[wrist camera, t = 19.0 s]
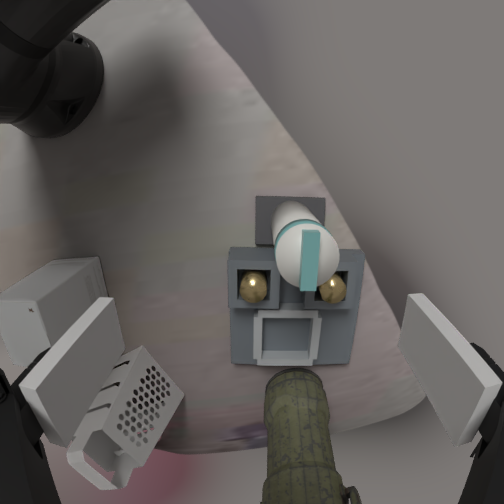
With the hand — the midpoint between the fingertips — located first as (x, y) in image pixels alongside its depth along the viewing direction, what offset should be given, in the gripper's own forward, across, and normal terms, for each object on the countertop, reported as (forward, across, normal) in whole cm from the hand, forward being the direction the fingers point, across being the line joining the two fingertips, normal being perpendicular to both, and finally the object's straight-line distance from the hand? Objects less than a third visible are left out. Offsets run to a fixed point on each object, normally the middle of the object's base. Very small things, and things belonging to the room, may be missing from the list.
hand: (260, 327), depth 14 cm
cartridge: (+25, +3, -1) cm, 25 cm away
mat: (+26, +3, -1) cm, 26 cm away
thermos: (+25, +4, -26) cm, 37 cm away
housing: (+25, +4, -12) cm, 28 cm away
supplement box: (+26, -26, -10) cm, 38 cm away
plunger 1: (+23, -1, -7) cm, 24 cm away
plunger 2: (+23, +8, -7) cm, 25 cm away
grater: (+26, -20, -26) cm, 41 cm away
